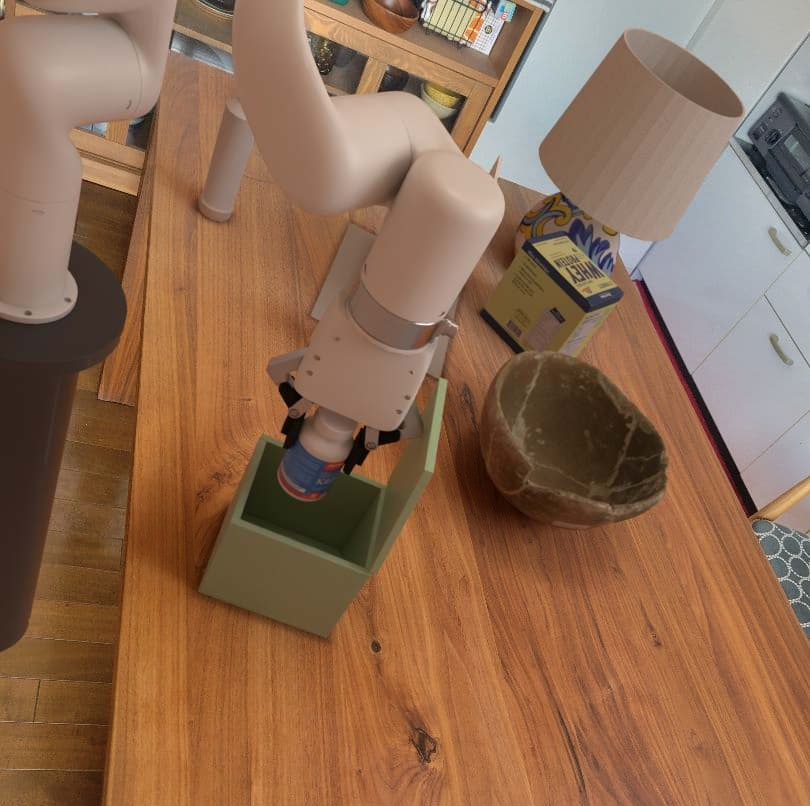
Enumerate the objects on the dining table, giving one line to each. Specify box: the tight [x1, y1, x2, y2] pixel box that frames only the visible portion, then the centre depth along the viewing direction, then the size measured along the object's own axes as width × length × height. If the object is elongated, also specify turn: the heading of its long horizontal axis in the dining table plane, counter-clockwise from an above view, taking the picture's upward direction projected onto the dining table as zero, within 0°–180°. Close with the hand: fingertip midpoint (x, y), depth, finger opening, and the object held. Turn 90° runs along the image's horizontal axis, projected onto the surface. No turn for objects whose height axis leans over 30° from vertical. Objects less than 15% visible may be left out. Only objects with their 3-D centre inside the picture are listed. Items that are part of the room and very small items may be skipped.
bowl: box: [479, 350, 670, 531], centre depth 117 cm, size 28×27×15 cm
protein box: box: [479, 231, 625, 358], centre depth 139 cm, size 10×16×16 cm
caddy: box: [197, 433, 387, 639], centre depth 91 cm, size 15×13×13 cm
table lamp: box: [514, 27, 746, 278], centre depth 146 cm, size 27×27×40 cm
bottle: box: [197, 96, 256, 223], centre depth 120 cm, size 5×5×25 cm
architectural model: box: [309, 153, 503, 380], centre depth 127 cm, size 28×21×23 cm
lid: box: [369, 377, 449, 576], centre depth 82 cm, size 16×13×1 cm
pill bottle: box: [278, 405, 359, 501], centre depth 82 cm, size 6×5×10 cm
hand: (319, 450), depth 81 cm, fingers closed on pill bottle, 5 cm apart
